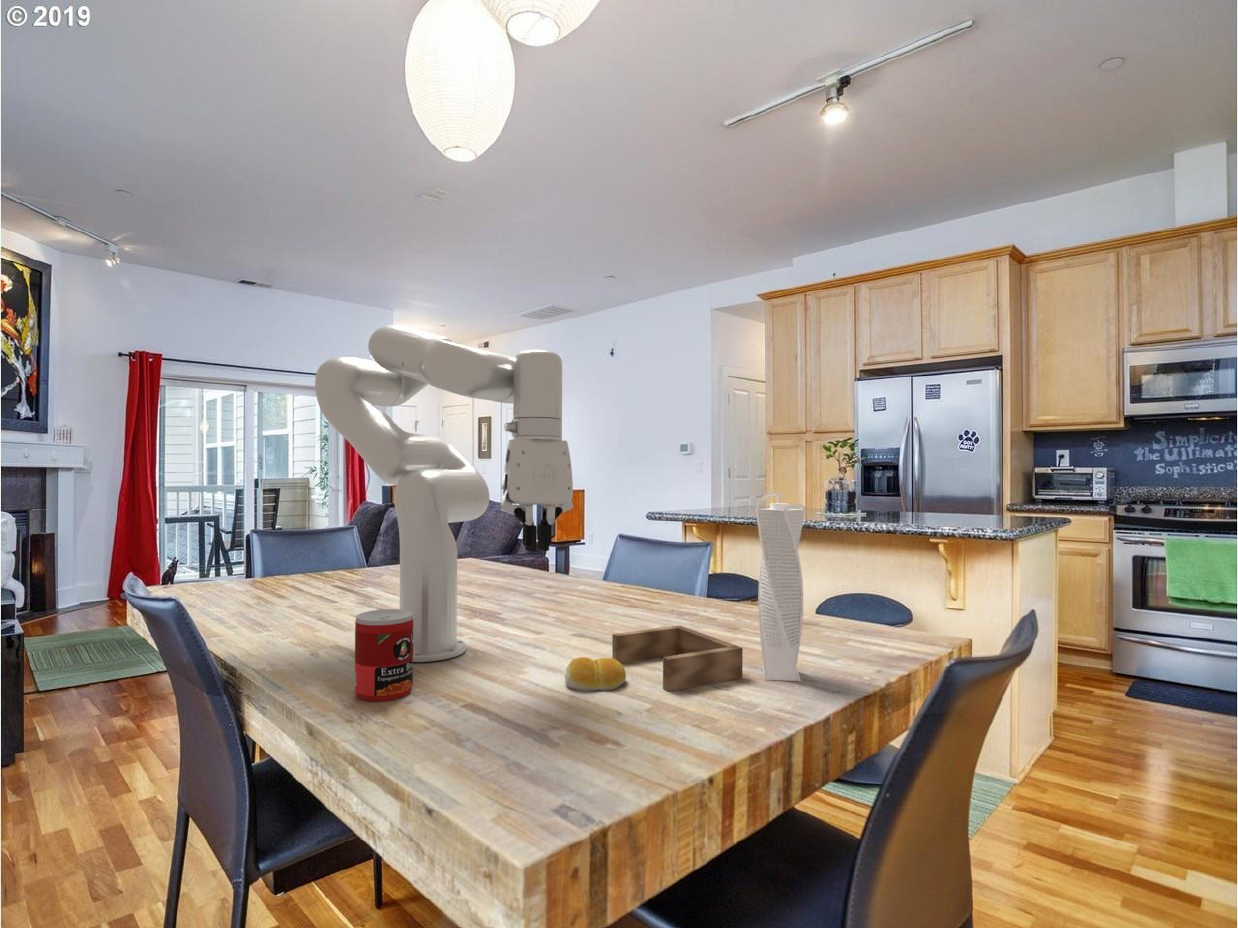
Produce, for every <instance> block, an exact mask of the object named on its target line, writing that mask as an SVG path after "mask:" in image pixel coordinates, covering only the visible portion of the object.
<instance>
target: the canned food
mask: <svg viewBox="0 0 1238 928" xmlns="http://www.w3.org/2000/svg"><path fill="white" fill-rule="evenodd" d="M354 625H355V629H354V691H355V695H356V697H357V698H358V699H359V700H362V701H365V702H373V703H374V702H375V703H378V702H379V703H380V702H389V701H394V700H398V699H402V698H405V697H406V696H408V695H409V694H410V693H411V691H412V689H413V683H414V682H413V681H414V679H413V678H414V673H413V672H414V662H413V626H414V624H413V613H412V612H411V611H408V610H401V609H400V608H384V609H383V608H382V609H374V610H368V611H364V612H360V613H358V614H357V615H356V616H355V624H354Z"/></svg>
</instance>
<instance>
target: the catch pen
mask: <svg viewBox="0 0 1238 928" xmlns="http://www.w3.org/2000/svg"><path fill="white" fill-rule="evenodd" d="M611 639H612V642H611V643H612V654H611V655H612V659H615V660H617V661H619V662H620V663H621V664H624V663H632V662H637V661H643V660H649V659H650V660H651V659H657V658H662V689H663V690H664V691H666V692H672V691H677V690H678V691H679V690H683V689H690V688H694V687H698V686H705V685H710V684H715V683H721V682H726V681H732V680H736V679H737V680H738V679H742V678H743V647H741V646H738V645H735V644H733V643H730V642H727V641H725V640H722V639H719V638H716V637H713V636H710V635H708V634H705V633H703V632H699V631H696V630H693V629H691V628H688V627H686V626H684V625H683V626H682V625H673V626H667V627H666V626H665V627H658V628H657V627H656V628H649V629H643V630H633V631H628V632H620V633H619V632H618V633H612V638H611ZM676 654H677V655H676Z"/></svg>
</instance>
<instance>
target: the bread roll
mask: <svg viewBox="0 0 1238 928" xmlns="http://www.w3.org/2000/svg"><path fill="white" fill-rule="evenodd" d="M565 670H566V673H565V676H564V682H565V685H566V686H567V688H568V689H571V690H575V689H576V690H577V691H583V692H594V691H595V692H596V691H598V690H600V691H612V690H613V691H614V690H615V689H617V688H619V687H621V686H622V685H623V684H624V683H625V681H626V680H627V679H626V678H627V674H626V669H625V667H624V665H623V663H620V662H619V661H617V660H615V659H612V658H611V657H601V658H596V659H592V658H589V657H585V656H584V657H583V656H582V657H581V656H580V657H576V658H573V659H572V660H570V662H569V664H568V665H567V667H566V669H565Z"/></svg>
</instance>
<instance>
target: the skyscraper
mask: <svg viewBox="0 0 1238 928" xmlns="http://www.w3.org/2000/svg"><path fill="white" fill-rule="evenodd" d="M768 497H776V502H770V505H769V507H768V508H759V507H760V506H761V503H762V501H764V499H766V498H768ZM780 498H781V495H780V494H779V493H778V492H769V493H766V494H763V496H761V498H760V499H759V500H758V502H757V504H756V507H755V514H756V515H755V516H756V521H757V529H758V536H759V541H760V547H761V552H762V556H761V560H760V565H759V566H760V567H759V574H758V575H759V576H758V591H757V592H758V595H757V597H758V599H757V600H758V601H757V602H758V606H757V607H758V625H759V634H760V635H759V637H760V645H761V656H762V666H761V669H760V670H761V671H762V672H763V675H764V680H765V681H787V682H789V681H791V682H801V681H802V680H801V677H800V673H799V670H798V667H797V662H798V658H799V652H800V646H801V639H802V638H801V637H802V629H803V618H804V617H803V615H804V581H803V580H804V579H803V572H802V571H803V570H802V566H801V560H800V556H799V545H800V540H801V535H802V530H803V524H804V518H805V513H806V507H805V505H804V504H802V503H793V504H790V503H788V502H787V503H786V502H785V503H784V502H780ZM798 508H799V509H798Z"/></svg>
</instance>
